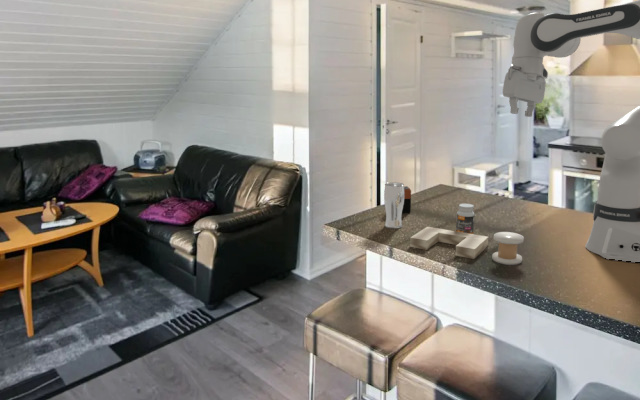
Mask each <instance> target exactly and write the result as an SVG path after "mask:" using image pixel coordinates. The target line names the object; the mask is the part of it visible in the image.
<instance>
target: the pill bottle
mask: <svg viewBox="0 0 640 400" xmlns="http://www.w3.org/2000/svg"><path fill="white" fill-rule="evenodd" d="M474 209H475V207H474V204H471V203H460V204H458V210H457V212H456V221H455V223H456V224H455V231H457V232H463V233H469V234H474V232H475V217H476V216H475V212H474Z"/></svg>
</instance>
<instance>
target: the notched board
mask: <svg viewBox="0 0 640 400" xmlns="http://www.w3.org/2000/svg"><path fill="white" fill-rule="evenodd" d="M409 241H410V242H409V243H410V244H409V247H410V248H415V249H420V250H424V251H427V250H429V249H430V248H431V247H433V246H434V245H436V244H437V243H444V244H450V245H455V256H456V257H463V258H466V259H467V258H468V259H471V260H475V259H476V258H477V257H478V256H479V255H480V254H481V253H483V252H484V251H485V249H486V248H487V247H489V236H485V235H480V234H474V233H473V234H469V233H463V232H457V231H456V230H450V229H443V228H438V227H432V226H426V227H424V228H423V229H421V230H419V231H418V232H417V233H415V234H414V235H412V236H410V240H409Z"/></svg>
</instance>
